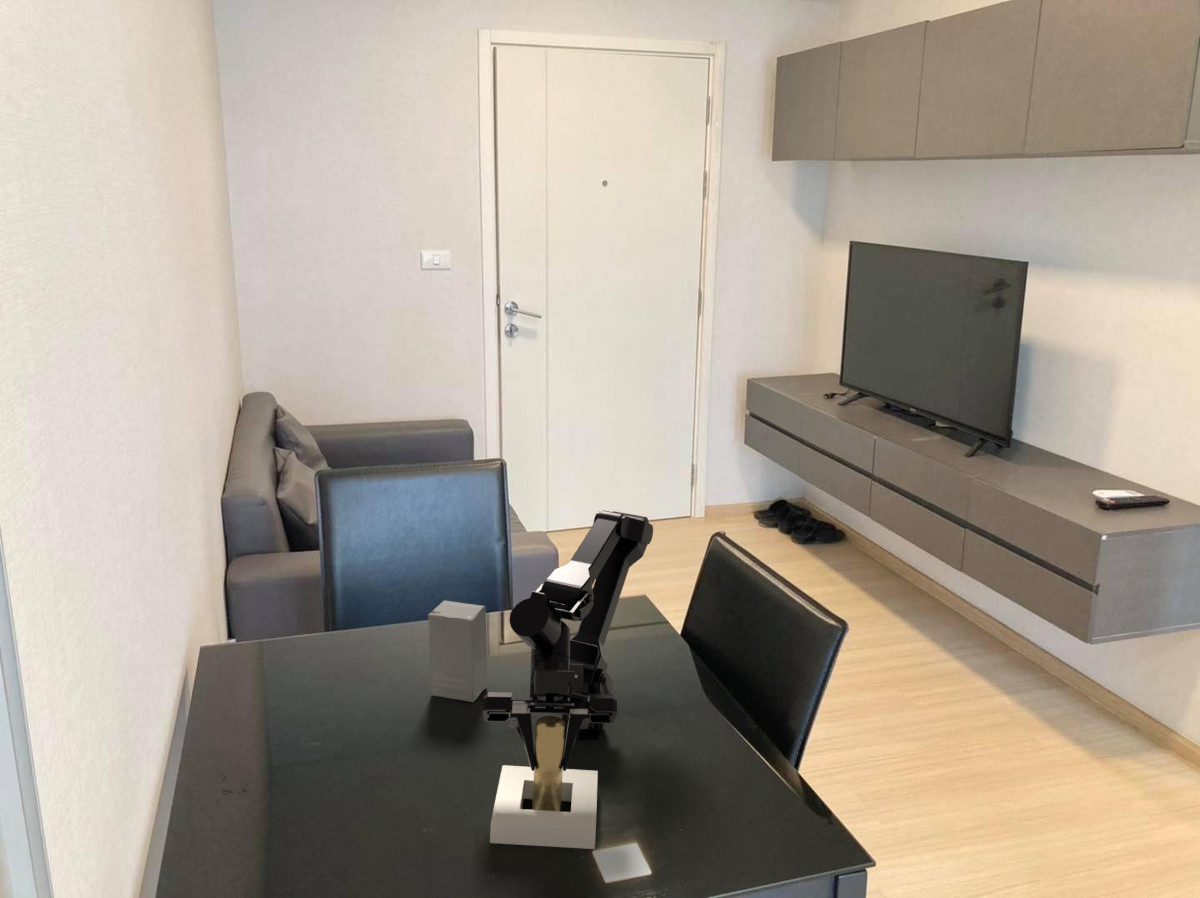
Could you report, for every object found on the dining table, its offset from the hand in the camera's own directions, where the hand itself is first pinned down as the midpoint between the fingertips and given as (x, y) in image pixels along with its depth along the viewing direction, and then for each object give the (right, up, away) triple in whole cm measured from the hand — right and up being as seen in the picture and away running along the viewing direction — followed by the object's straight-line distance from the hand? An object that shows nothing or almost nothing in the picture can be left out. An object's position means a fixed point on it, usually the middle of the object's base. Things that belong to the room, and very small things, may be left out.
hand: (548, 770), depth 134 cm
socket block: (-1, -7, +3) cm, 8 cm away
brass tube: (0, -6, +3) cm, 7 cm away
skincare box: (-18, +1, +36) cm, 40 cm away
